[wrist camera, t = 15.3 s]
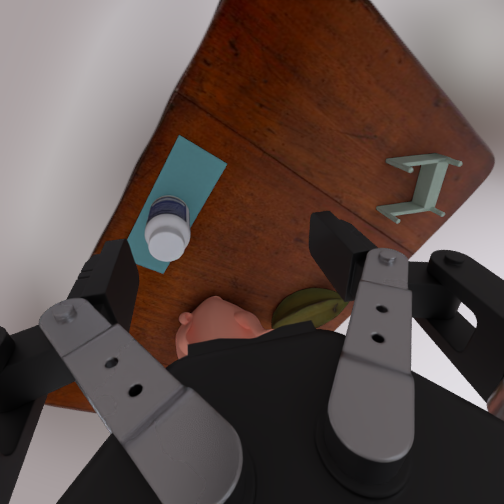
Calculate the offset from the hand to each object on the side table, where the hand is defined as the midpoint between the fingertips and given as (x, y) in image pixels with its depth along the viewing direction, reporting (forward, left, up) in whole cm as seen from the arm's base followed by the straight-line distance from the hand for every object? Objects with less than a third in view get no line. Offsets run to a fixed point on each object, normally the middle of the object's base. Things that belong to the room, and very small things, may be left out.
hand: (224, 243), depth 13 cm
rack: (+3, +33, -28) cm, 44 cm away
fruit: (+28, +22, -28) cm, 45 cm away
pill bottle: (+11, -3, -28) cm, 30 cm away
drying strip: (+11, -3, -28) cm, 30 cm away
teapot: (+32, +6, -28) cm, 43 cm away
